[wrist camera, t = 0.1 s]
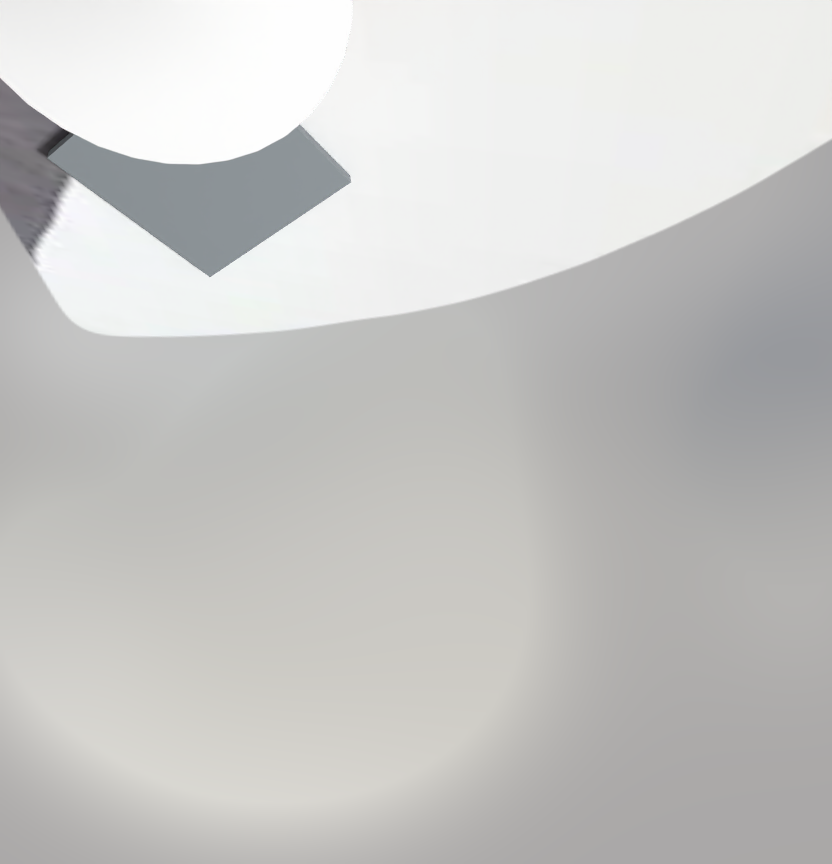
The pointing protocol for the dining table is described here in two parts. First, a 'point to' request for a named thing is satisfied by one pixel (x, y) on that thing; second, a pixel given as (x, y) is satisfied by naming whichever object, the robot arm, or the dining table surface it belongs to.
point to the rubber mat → (209, 193)
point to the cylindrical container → (174, 70)
